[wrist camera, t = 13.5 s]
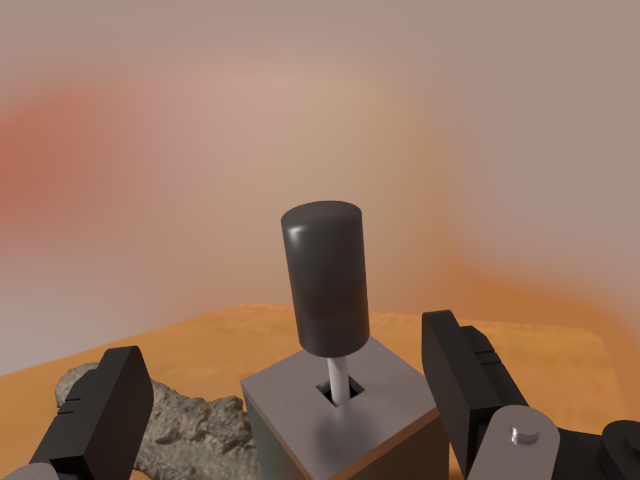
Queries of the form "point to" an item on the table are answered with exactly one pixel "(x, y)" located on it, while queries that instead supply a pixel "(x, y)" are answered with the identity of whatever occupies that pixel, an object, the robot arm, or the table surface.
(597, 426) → the table surface
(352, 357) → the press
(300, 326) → the lever
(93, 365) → the long grey stone
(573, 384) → the table surface
